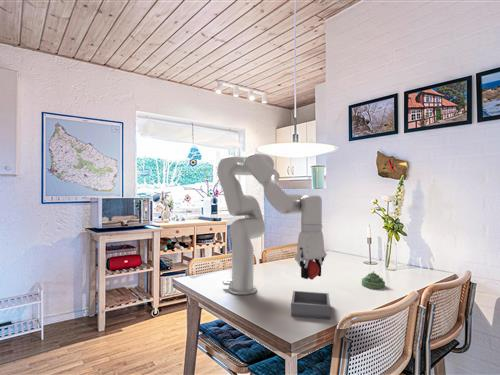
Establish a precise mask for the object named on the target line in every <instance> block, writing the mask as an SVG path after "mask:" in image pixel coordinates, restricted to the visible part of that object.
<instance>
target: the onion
mask: <svg viewBox="0 0 500 375" xmlns="http://www.w3.org/2000/svg"><path fill="white" fill-rule="evenodd" d="M307 268H308V279H309V280H310V281H311V280H314V279H315V278H316V277H318V276H317V275H318V274H319V266H318V265H317V263H316V262H315V261H314V259H313V260H309V262H308V266H307Z"/></svg>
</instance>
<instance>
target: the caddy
mask: <svg viewBox="0 0 500 375" xmlns="http://www.w3.org/2000/svg"><path fill="white" fill-rule="evenodd" d="M331 310H332V308H331V300H330V295H329V292H315V291H302V290H292V297H291V302H290V316H291V317H300V318H311V319H312V318H313V319H323V320H331V319H332V318H331V316H332V315H331V314H332V313H331V312H332V311H331Z"/></svg>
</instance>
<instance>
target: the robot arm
mask: <svg viewBox="0 0 500 375" xmlns="http://www.w3.org/2000/svg"><path fill="white" fill-rule="evenodd" d="M274 162H275V161H274V159H273V158H272V157H271V156H270V155H268V154H265V153H264V154H263V153H257V152H252V153H250V154H248V155H247V156H239V155H226V156H224V157H222V158H221V159H220V160H219V162H218V165H217V169H216V170H217V172H216V173H217V178H218V181H219V183H220V187H221V189H222V192H223V197H224V200H225V203H226V207H227V208H226V209H227V211H228V214H229V215H230V216H232V217H244V218H239V219H235V220H234V221H232V223H231V224H230V226H229V234H230V239H231V240H230V241H231V279H222V284H223V285H224V286H228V290H227V291H228V292H229V293H231V294H233V295H240V296H245V295H246V296H247V295H251V294H254V293H256V292H257V288H258V287H257V286H256V285H254V263H255V262H254V256H255V255H254V253H255V252H254V246H253V243H252V239H253V240H254V239H257V238H260V237H262V236H263V235H264V233H265V230H266V226H265V220H264V218H263V214H262V211H261V210H262V209H261V207H260V204H259V201H258V200H257V199H256V197H255V196H253V195H250V194H249V195H247V194H244V191H243V188H242V186H241V183H240V181H239V180H238V179H237V178H236V176H252V177H253V178H254V179H255V180H257V182H258V183H259V184H260V185H261V186H262V187H263V193H264V195H265V199H266V200H267V201H268V203H269V204H270V205H271V206H272V207H273V208H274V209H275V210H276V211H277V212H278V213H280V214H282V215H297V214H300V215H301V217H300V222H301V223H300V231H299V234H298V239H297V246H296V247H297V248H296V255H295V257H294V260H295V261H296V263H297V264H298V265H299V267H300V278H302V279H304V280H308V279H309V278H308V268H307V266H308V262H309V260H313V261H314V262H316V263H317V265H318V266H319V274H318V275H317V276H316V277H322V266H323V262H324V261H325V259H326V256H327V255H328V254H327V252H326V251H325V243H324V234H323V230H322V229H323V225H322V224H323V223H322V222H323V221H322V220H323V216H322V215H323V214H322V212H323V209H322V208H323V204H322V203H323V200H322V197H321V196H320V195H314V194H311V195H310V194H297V193H296V194H294V193H293V194H291V193H289V194H287V193H286V191H284V190H283V189H282V187H280V186H279V185H278V182H279V180H280V173H279V172H278V171H277V169H275V163H274Z"/></svg>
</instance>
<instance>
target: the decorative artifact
mask: <svg viewBox="0 0 500 375" xmlns="http://www.w3.org/2000/svg"><path fill="white" fill-rule="evenodd" d="M361 286H362V287H364V288H366V289H369V290H384V289H385V288H386V282H385V280H384V279H383V277H380V275H379V274H377V273H375V271H374V270H372V272H369V273H368V274H367V275H366V276H364V277H363V278H361Z"/></svg>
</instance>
